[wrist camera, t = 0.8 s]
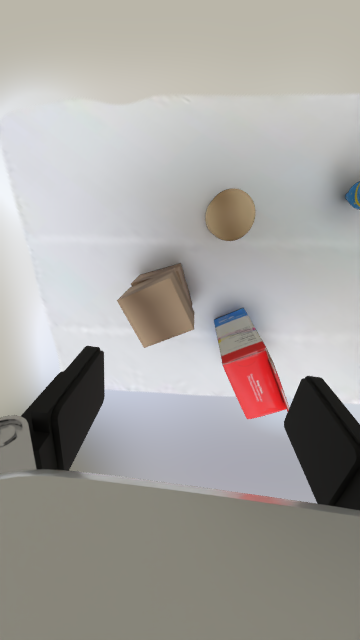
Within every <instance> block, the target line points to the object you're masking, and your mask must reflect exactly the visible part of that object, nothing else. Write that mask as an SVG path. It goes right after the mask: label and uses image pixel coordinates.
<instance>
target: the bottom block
mask: <svg viewBox="0 0 360 640" xmlns="http://www.w3.org/2000/svg"><path fill="white" fill-rule="evenodd" d="M173 268H175V270H176V273H177V275H178V277H179V279H180V281H181V284H182V286H183V288H184V290H185V293H186V295H187V297H188V299H189V301H190V304H191V306H192V301H191V297H190V294H189V290H188V287H187V283H186V280H185V276H184V272H183V269H182V265H181V263H180V264H176V265H173V266H169V267H166V268H162V269H159V270H155V271H152V272H148V273H145V274H141V275H139V276H138V277H137V278H136V279H135V280H134V281H133V282H132V283H131V285H132V287H133V286H135V285H137V284H139V283H142V282H144V281H146V280H148V279H151V278H153V277H155V276H157V275H160V274H162V273H164V272H166V271H169V270H171V269H173Z"/></svg>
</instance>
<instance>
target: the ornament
mask: <svg viewBox="0 0 360 640" xmlns="http://www.w3.org/2000/svg"><path fill="white" fill-rule="evenodd" d="M345 198H346V200H348V202H349V203H350V205H352V206H353V207H354V208H356V209H359V210H360V181H359V182H357V183H356V184H355V185H353V186H352V187H351V189H350V190H349V192H348V193H347V194H346V196H345Z"/></svg>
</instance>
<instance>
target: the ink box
mask: <svg viewBox="0 0 360 640" xmlns="http://www.w3.org/2000/svg"><path fill="white" fill-rule="evenodd" d="M214 324H215V328H216V333H217V338H218V343H219V348H220V353H221V359H222V364H223V367H224V370H225V372H226V374H227V377H228V379H229V381H230V383H231V386H232V388H233V390H234V392H235V394H236V397H237V399H238V401H239V403H240V405H241V407H242V410H243V412H244V414H245V416H246V418H247V419H252V418H257V417H261V416H265V415H268V414H272V413H275V412H279V411H281V410H285V409H287V411H289V405H288V402H287V400H286V397H285V394H284V391H283V388H282V385H281V382H280V379H279V376H278V374H277V371H276V369H275V366H274V363H273V361H272V359H271V357H270V355H269V352H268V350H267V348H266V346H265V345H264V343H263V341H262V339H261V338H260V336H259V334H258V332H257V331H256V329H255V327H254V325H253V324H252V322H251V320H250V318H249V317H248V315H247V313H246V311H245V310H244V308H242V309H240V310H237V311H235V312H232V313H230V314H227V315H225V316H222V317H220V318H217V319H215V320H214Z"/></svg>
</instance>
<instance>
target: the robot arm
mask: <svg viewBox="0 0 360 640" xmlns="http://www.w3.org/2000/svg"><path fill="white" fill-rule="evenodd" d="M103 400H104V352H103V351H100V348H99V347H92V346H86V347H85V348H84V349H83V350H82V351H81V353H80V354H79V355H78V356H77V357H76V358H75V359H74V361H73V362H72V363H71V364H70V365H69V366H68V368H67V369H66V370H65V371H63V372H60V373H59V374H58V375H57V376H56V377H55V378H54V380H53V381H52V382H51V383H50V384H49V385H48V386H47V387H46V389H45V390H44V391H43V392H42V393H41V394H40V395H39V396H38V398H37V399H36V400H35V401H34V402H33V403H32V404H31V406H29V408H28V409H27V410H26V411H25V412H24V413H23V414H22V416H17V415H13V416H5V417H1V418H0V640H360V424H359V423H358V422H357V421H356V419H355V418H354V417H353V416H352V414H351V413H350V412H349V411H348V410H347V408H346V407H345V406H344V405H343V403H342V402H341V401H340V400H339V398H338V397H337V396H336V395H335V393H334V392H333V391H332V390H331V389H330V387H329V386H328V385H327V384H326V382H325V381H324V380H323V379H322V378H320V377H312V376H307V377H305V379H302V380H301V382H300V384H299V387H298V389H297V391H296V394H295V396H294V399H293V401H292V403H291V406H290V408H289V411H288V413H287V415H286V418H285V421H284V427H285V430H286V432H287V435H288V437H289V439H290V441H291V444H292V446H293V448H294V451H295V453H296V455H297V458H298V460H299V462H300V464H301V467H302V469H303V471H304V474H305V476H306V478H307V480H308V483H309V485H310V487H311V490H312V492H313V494H314V497H315V499H316V501H317V503H318V504H315V503H308V502H301V501H294V500H287V499H281V498H273V497H267V496H259V495H252V494H245V493H238V492H230V491H224V490H217V489H209V488H201V487H195V486H188V485H180V484H172V483H165V482H158V481H149V480H142V479H135V478H127V477H120V476H112V475H103V474H94V473H85V472H77V471H69V469H70V467H71V465H72V463H73V461H74V459H75V457H76V455H77V453H78V451H79V449H80V447H81V445H82V443H83V441H84V439H85V437H86V435H87V433H88V431H89V429H90V427H91V425H92V423H93V421H94V419H95V417H96V416H97V414H98V412H99V409H100V407H101V406H102V404H103Z"/></svg>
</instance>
